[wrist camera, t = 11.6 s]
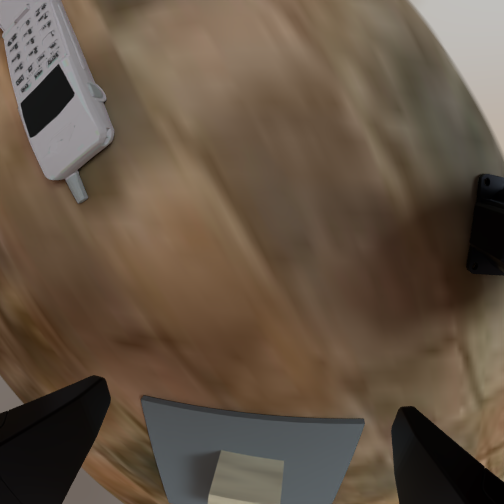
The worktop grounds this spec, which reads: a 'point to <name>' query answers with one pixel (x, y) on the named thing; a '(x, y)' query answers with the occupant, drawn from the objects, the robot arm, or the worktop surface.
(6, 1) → the mobile phone
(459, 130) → the worktop surface
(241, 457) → the card box
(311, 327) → the worktop surface
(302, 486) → the rubber mat
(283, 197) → the worktop surface
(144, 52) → the worktop surface
